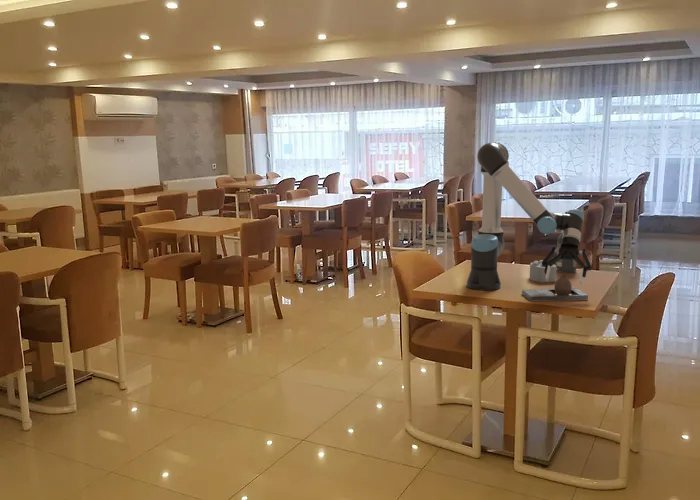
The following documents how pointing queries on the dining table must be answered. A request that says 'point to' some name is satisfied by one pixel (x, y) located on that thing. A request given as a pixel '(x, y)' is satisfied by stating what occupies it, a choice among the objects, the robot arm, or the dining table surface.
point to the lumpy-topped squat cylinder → (541, 272)
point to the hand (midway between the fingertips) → (563, 281)
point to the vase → (563, 286)
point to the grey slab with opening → (553, 295)
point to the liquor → (565, 260)
